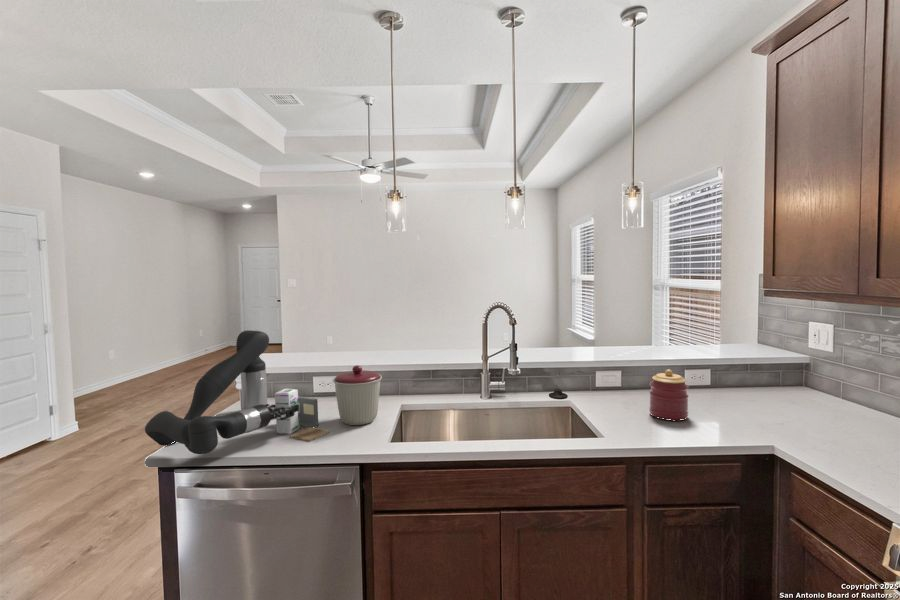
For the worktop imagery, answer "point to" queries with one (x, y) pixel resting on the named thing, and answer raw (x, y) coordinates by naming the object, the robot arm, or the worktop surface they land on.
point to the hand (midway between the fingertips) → (290, 406)
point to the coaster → (309, 433)
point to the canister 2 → (669, 396)
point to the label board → (308, 412)
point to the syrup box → (285, 400)
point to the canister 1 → (357, 395)
